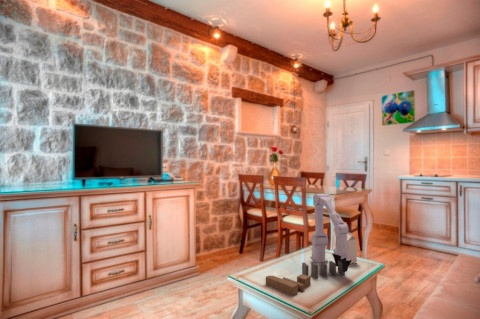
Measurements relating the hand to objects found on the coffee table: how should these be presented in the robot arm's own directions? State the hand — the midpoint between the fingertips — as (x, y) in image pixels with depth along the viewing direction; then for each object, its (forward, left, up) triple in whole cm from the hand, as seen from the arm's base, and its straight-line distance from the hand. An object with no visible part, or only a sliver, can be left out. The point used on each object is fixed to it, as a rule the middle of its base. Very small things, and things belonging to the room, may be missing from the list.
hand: (341, 268), depth 152 cm
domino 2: (0, -16, -3) cm, 17 cm away
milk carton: (-17, +15, -3) cm, 23 cm away
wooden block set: (+8, -35, -4) cm, 36 cm away
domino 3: (0, -11, -3) cm, 11 cm away
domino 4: (0, -5, -3) cm, 6 cm away
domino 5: (0, 0, -3) cm, 3 cm away
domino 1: (0, -22, -3) cm, 22 cm away
